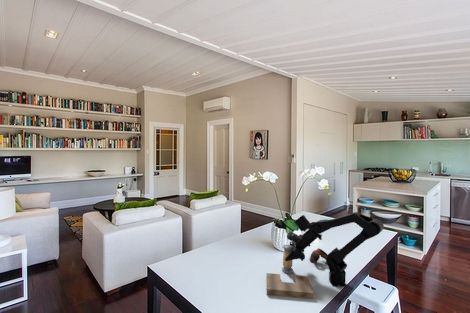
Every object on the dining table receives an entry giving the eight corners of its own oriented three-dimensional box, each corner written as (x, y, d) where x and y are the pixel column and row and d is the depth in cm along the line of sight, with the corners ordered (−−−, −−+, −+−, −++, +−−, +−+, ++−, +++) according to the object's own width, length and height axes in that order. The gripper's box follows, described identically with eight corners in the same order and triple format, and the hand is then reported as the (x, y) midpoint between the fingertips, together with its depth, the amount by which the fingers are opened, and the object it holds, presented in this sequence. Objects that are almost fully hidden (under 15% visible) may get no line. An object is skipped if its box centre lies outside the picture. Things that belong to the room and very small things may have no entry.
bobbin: (292, 268, 132) (293, 244, 132) (293, 274, 127) (294, 249, 126) (281, 267, 133) (282, 244, 133) (282, 273, 127) (283, 248, 127)
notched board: (308, 281, 120) (308, 276, 120) (313, 298, 106) (313, 293, 106) (266, 278, 122) (266, 273, 122) (266, 294, 108) (266, 289, 108)
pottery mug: (311, 257, 148) (318, 246, 147) (324, 269, 142) (332, 257, 141) (304, 259, 139) (312, 247, 138) (318, 271, 133) (326, 259, 132)
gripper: (294, 221, 138) (273, 240, 140) (298, 233, 119) (275, 254, 121) (308, 236, 137) (287, 254, 139) (315, 250, 119) (291, 271, 120)
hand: (285, 258), depth 130 cm, fingers open, 5 cm apart
